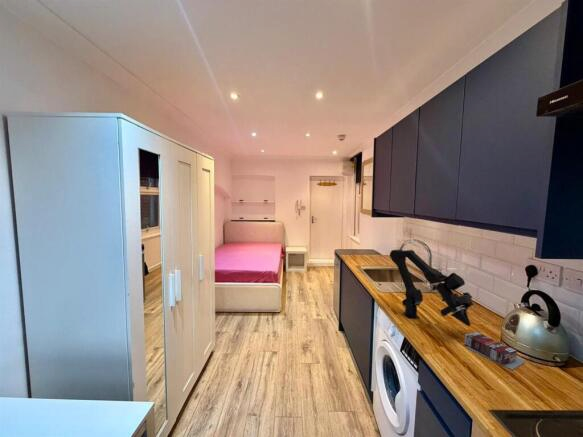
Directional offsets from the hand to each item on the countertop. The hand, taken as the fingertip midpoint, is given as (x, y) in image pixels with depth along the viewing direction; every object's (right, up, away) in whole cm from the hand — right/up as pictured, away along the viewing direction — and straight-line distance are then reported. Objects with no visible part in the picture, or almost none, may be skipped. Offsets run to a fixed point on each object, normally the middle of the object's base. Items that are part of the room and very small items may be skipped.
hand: (469, 325), depth 118 cm
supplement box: (0, -5, 0) cm, 5 cm away
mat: (+5, -9, -9) cm, 13 cm away
